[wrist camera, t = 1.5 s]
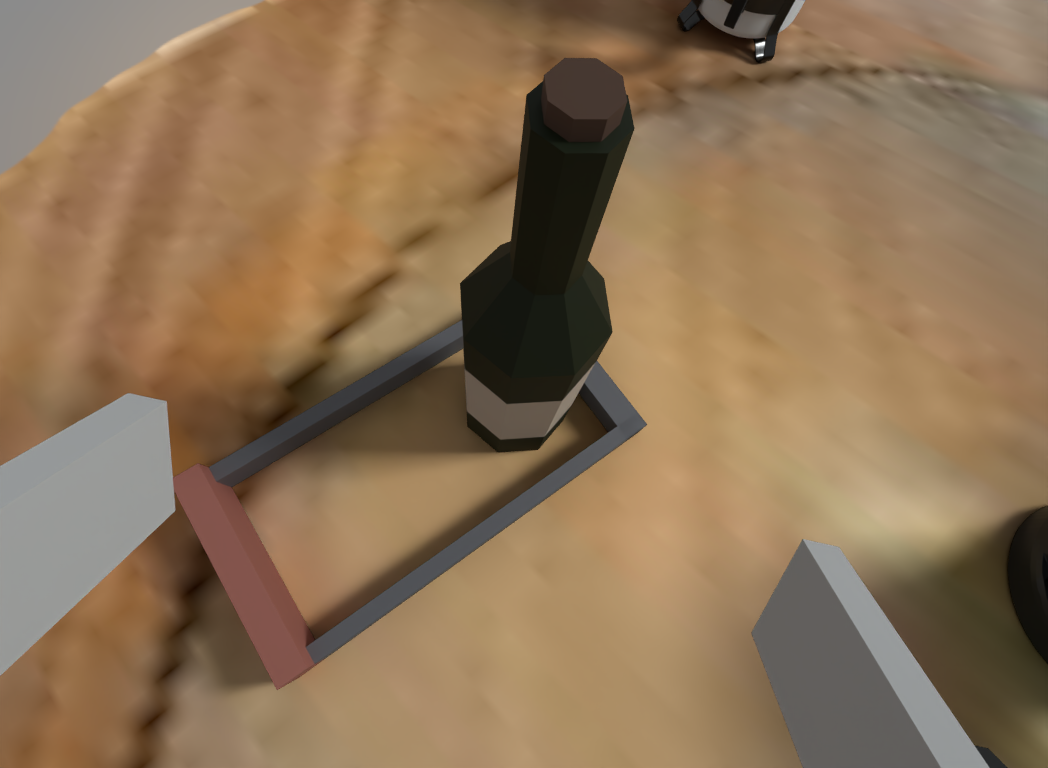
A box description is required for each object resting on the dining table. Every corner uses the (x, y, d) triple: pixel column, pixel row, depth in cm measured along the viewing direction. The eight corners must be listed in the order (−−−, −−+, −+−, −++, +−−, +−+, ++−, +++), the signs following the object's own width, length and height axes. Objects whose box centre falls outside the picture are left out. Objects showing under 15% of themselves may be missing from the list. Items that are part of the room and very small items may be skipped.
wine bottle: (490, 473, 41) (524, 253, 13) (445, 382, 44) (391, 27, 15) (583, 427, 43) (783, 149, 15) (535, 342, 45) (632, -39, 17)
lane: (529, 293, 47) (534, 269, 43) (637, 432, 44) (653, 419, 40) (198, 489, 39) (168, 480, 35) (297, 678, 36) (276, 690, 32)
